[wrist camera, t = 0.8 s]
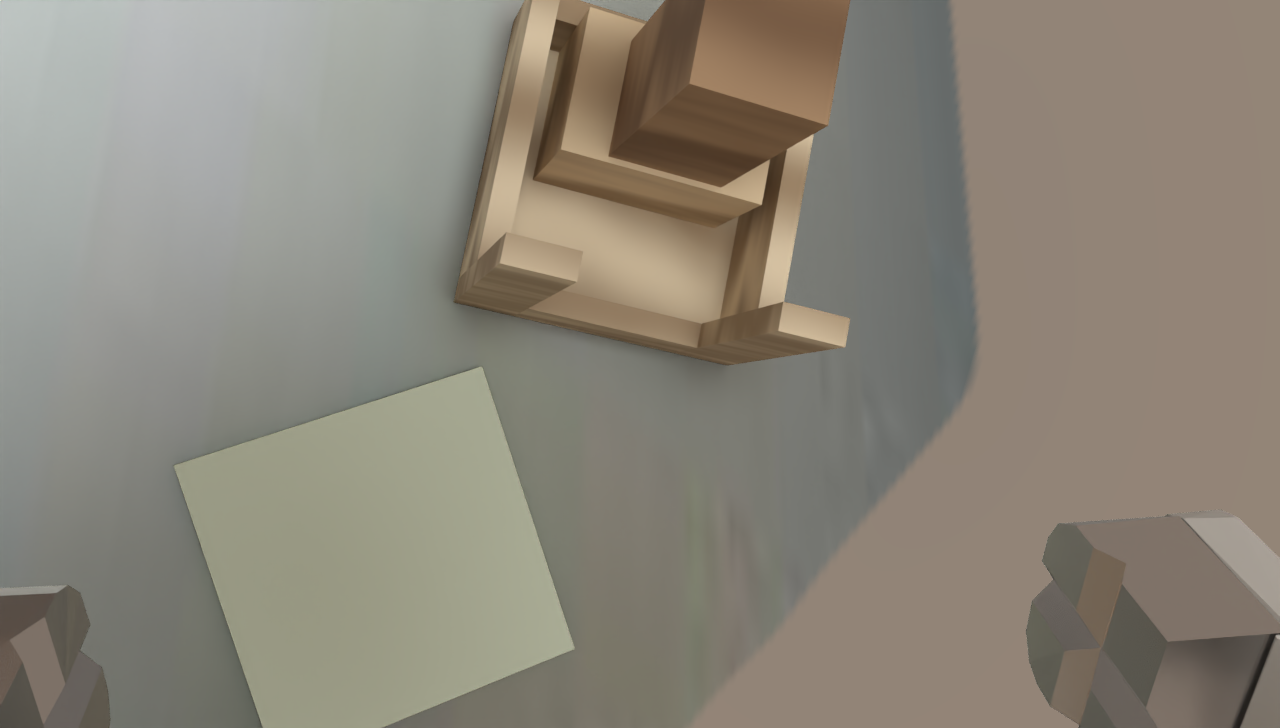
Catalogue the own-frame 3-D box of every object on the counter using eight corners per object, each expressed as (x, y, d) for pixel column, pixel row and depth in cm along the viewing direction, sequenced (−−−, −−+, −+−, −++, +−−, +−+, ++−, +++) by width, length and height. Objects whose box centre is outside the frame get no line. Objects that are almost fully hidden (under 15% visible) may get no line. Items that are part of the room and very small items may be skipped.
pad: (174, 465, 42) (173, 465, 41) (479, 366, 45) (482, 366, 45) (277, 766, 42) (277, 770, 42) (571, 646, 46) (574, 648, 45)
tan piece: (727, 365, 48) (845, 347, 38) (453, 302, 45) (499, 263, 35) (775, 101, 50) (902, 13, 39) (513, 22, 46) (574, -98, 36)
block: (721, 187, 42) (827, 125, 34) (608, 156, 41) (689, 83, 32) (742, 74, 43) (852, -15, 34) (631, 40, 42) (717, -62, 33)
